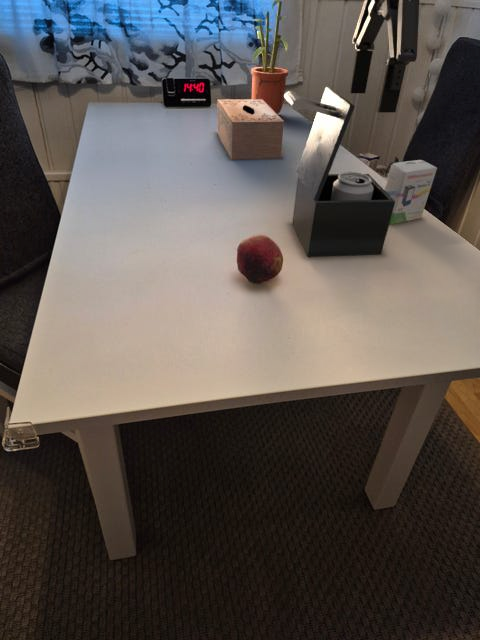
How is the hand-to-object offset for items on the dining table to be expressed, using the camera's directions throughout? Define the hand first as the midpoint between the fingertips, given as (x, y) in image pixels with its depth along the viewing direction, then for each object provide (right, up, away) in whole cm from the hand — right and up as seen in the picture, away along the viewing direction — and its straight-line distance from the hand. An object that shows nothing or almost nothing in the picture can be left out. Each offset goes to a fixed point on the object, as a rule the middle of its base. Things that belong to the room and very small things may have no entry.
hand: (370, 102), depth 75 cm
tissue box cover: (-20, +17, +62) cm, 67 cm away
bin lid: (-7, -6, +3) cm, 10 cm away
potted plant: (-14, +39, +91) cm, 100 cm away
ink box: (+14, -14, +25) cm, 31 cm away
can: (-1, -20, +15) cm, 25 cm away
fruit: (-19, -30, +2) cm, 35 cm away
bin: (-3, -20, +15) cm, 26 cm away
